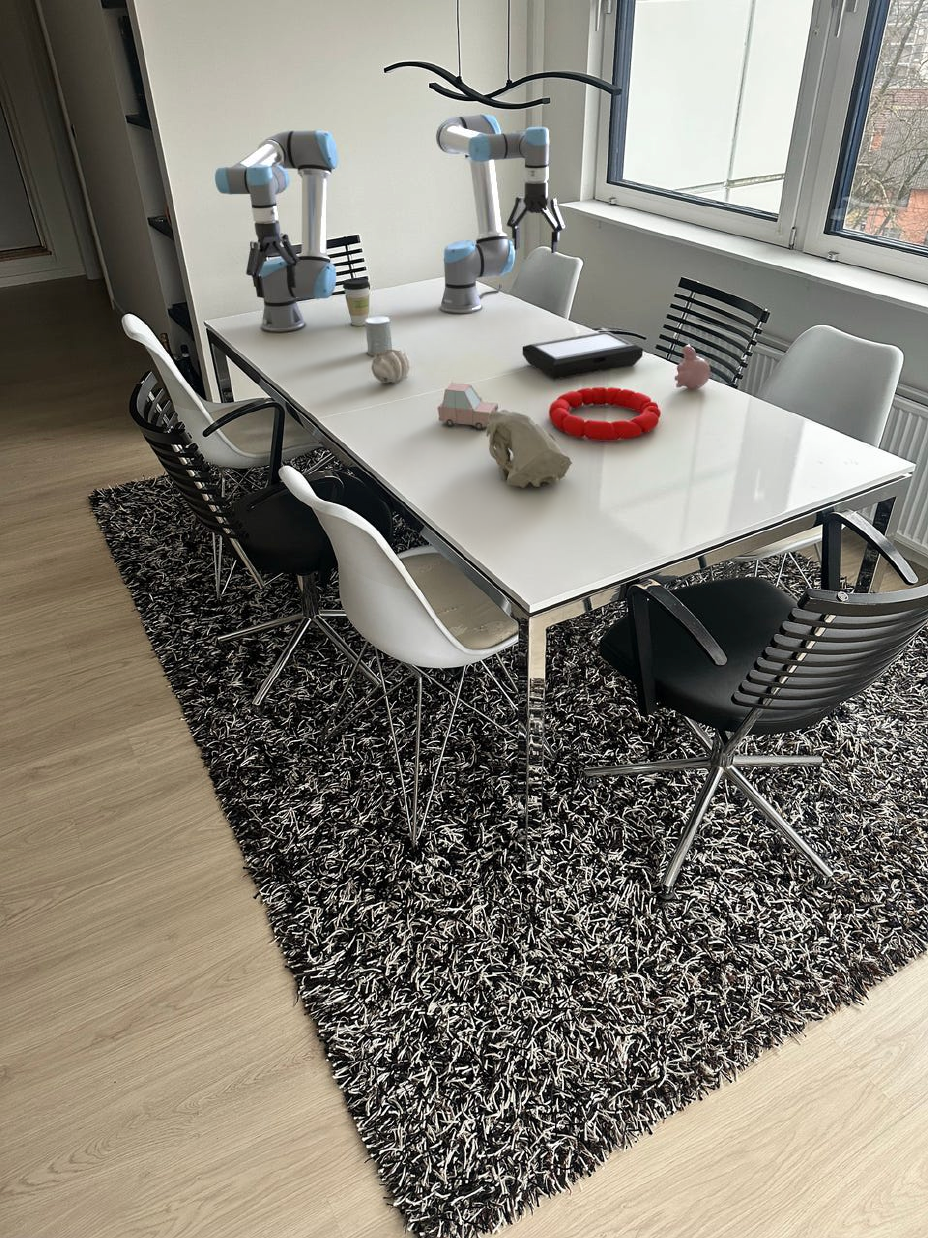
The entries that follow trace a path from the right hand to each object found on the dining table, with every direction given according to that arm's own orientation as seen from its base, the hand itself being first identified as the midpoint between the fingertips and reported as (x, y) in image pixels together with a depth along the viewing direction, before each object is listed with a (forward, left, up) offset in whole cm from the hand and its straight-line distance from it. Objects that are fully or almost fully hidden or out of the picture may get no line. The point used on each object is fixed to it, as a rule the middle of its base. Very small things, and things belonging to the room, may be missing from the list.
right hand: (535, 250), depth 301 cm
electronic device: (+29, +30, -26) cm, 49 cm away
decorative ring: (+70, +53, -26) cm, 92 cm away
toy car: (+86, +20, -26) cm, 93 cm away
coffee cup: (+19, -62, -26) cm, 69 cm away
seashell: (+67, -17, -26) cm, 74 cm away
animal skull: (+108, +45, -26) cm, 120 cm away
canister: (+44, -36, -26) cm, 63 cm away
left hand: (+60, -64, -5) cm, 88 cm away
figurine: (+36, +67, -26) cm, 81 cm away
